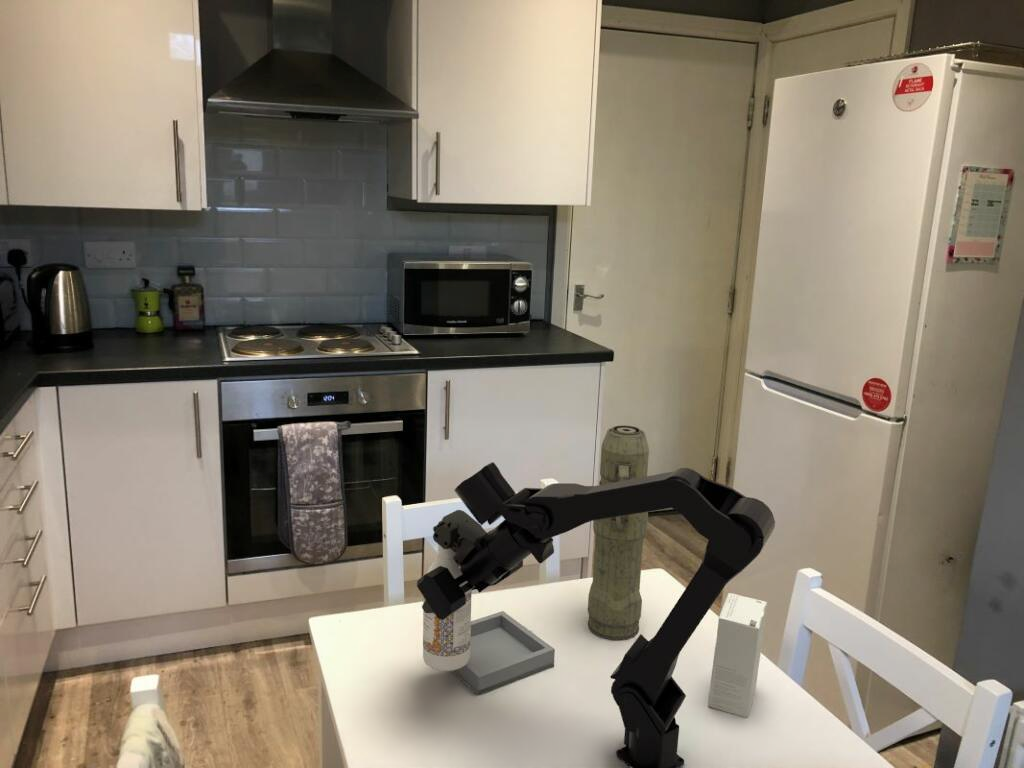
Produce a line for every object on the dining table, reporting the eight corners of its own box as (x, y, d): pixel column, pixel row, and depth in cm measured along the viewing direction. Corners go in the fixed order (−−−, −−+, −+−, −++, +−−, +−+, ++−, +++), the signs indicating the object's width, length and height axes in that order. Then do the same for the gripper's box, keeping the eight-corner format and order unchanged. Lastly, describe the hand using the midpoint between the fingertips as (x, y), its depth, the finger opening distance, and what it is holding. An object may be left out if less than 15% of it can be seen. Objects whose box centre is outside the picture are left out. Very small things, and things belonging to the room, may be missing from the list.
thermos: (635, 610, 148) (649, 420, 140) (643, 646, 136) (659, 441, 128) (585, 608, 148) (596, 418, 140) (589, 644, 137) (601, 439, 129)
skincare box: (717, 679, 128) (726, 590, 125) (758, 689, 126) (768, 599, 122) (706, 709, 121) (716, 615, 117) (749, 720, 118) (760, 625, 115)
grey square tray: (553, 666, 130) (554, 649, 129) (478, 695, 122) (479, 677, 121) (502, 627, 141) (502, 610, 140) (430, 651, 133) (430, 634, 132)
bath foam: (415, 654, 125) (416, 528, 121) (457, 644, 128) (459, 520, 124) (434, 677, 119) (435, 545, 115) (477, 665, 122) (481, 537, 118)
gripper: (507, 481, 124) (448, 533, 132) (427, 520, 108) (366, 577, 117) (551, 543, 121) (488, 593, 130) (476, 593, 106) (410, 645, 114)
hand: (440, 599), depth 123 cm, fingers closed on bath foam, 7 cm apart
